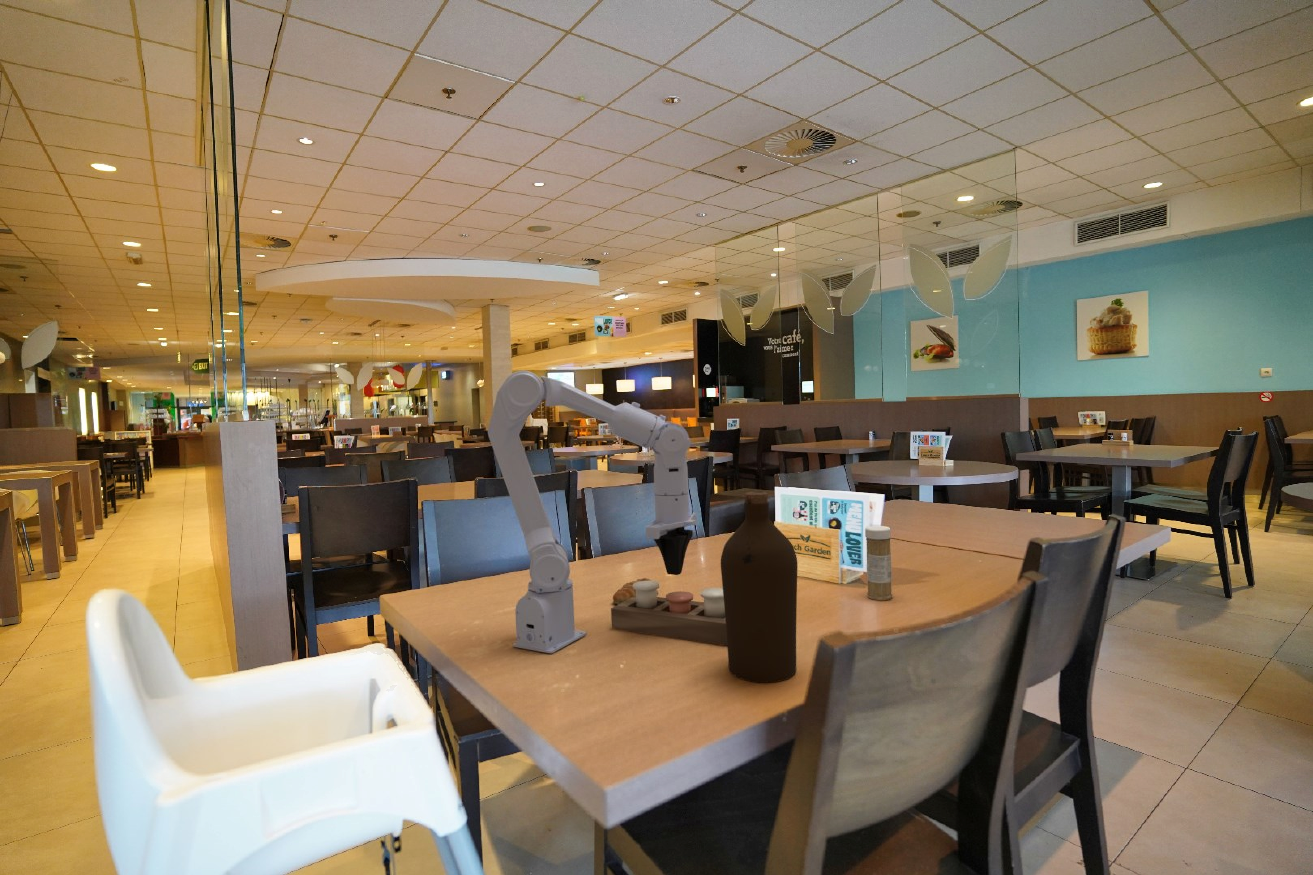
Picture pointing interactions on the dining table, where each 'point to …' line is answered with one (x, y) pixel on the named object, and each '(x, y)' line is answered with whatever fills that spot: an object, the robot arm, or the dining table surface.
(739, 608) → the olive oil
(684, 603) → the red plug
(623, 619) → the plug block
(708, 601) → the cream plug
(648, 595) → the cream plug
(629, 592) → the pastry
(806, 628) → the dining table surface
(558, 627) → the robot arm
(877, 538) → the sprinkles bottle
